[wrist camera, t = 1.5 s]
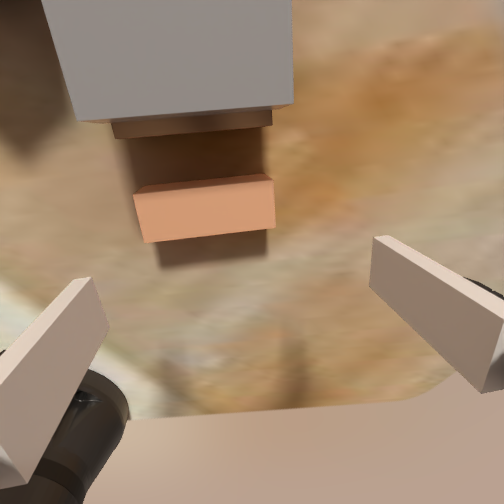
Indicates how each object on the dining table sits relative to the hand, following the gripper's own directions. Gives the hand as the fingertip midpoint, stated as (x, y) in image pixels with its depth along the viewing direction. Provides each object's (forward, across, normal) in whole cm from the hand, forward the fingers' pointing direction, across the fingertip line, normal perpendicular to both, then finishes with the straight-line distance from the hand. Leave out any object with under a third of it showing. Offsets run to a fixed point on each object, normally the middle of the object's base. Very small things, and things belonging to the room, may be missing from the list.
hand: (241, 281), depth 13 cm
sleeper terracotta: (+15, -2, +1) cm, 15 cm away
